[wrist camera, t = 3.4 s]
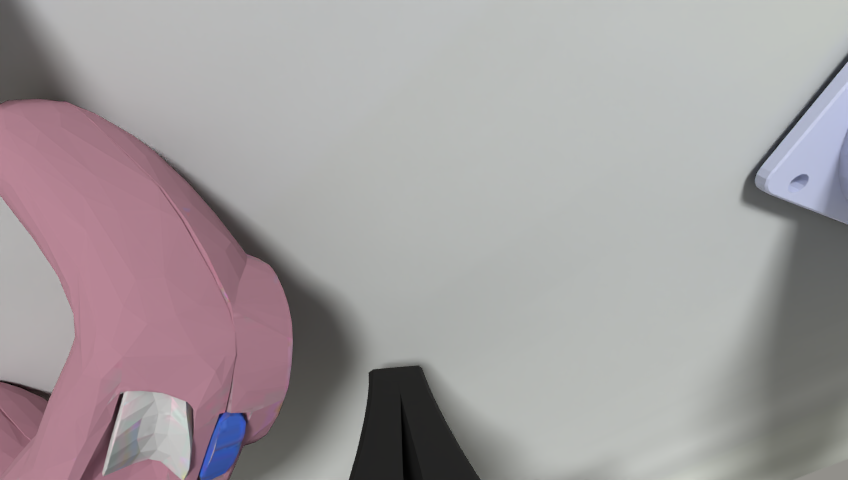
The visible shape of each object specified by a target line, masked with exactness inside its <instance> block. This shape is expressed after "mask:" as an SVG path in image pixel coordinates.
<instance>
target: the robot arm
mask: <svg viewBox="0 0 848 480" xmlns="http://www.w3.org/2000/svg"><path fill="white" fill-rule="evenodd" d="M755 184H756V187H758V188H759V189H760V190H762V191H764V192H766V193H768V194H769V195H772V196H775V197H777V198H780V199H782V200H785V201H788V202H790V203H793V204H795V205H798V206H801V207H803V208H806V209H808V210H811V211H814V212H816V213H819V214H821V215H824V216H827V217H829V218H832V219H834V220H837V221H840V222H842V223H845V224H847V225H848V62H847V63H846V64H845V66H844V67H843V68H842V69H841V70H840V72H839V73H838V74H837V75H836V76H835V78H834V79H833V80H832V81H831V82H830V84H829V85H828V86H827V87H826V89H825V90H824V91H823V92H822V93H821V95H820V96H819V97H818V98H817V99H816V101H815V102H814V103H813V104H812V106H811V107H810V108H809V109H808V110H807V112H806V113H805V114H804V115H803V116H802V118H801V119H800V120H799V121H798V122H797V124H796V125H795V126H794V127H793V129H792V130H791V131H790V132H789V133H788V135H787V136H786V137H785V138H784V139H783V141H782V142H781V143H780V144H779V146H778V147H777V148H776V149H775V150H774V152H773V153H772V154H771V155H770V156H769V158H768V159H767V160H766V161H765V162H764V164H763V165H762V166H761V167H760V169H759V171H758V172H757V174H756V178H755ZM349 480H480V478H479V477H478V475H477V474H476V472H475V471H474V469H473V467H472V466H471V464H470V463H469V461H468V459H467V458H466V456H465V455H464V453H463V451H462V449H461V448H460V446H459V444H458V443H457V441H456V439H455V437H454V435H453V434H452V432H451V430H450V428H449V426H448V425H447V423H446V421H445V419H444V417H443V415H442V413H441V411H440V409H439V407H438V405H437V403H436V401H435V399H434V397H433V395H432V392H431V390H430V388H429V385H428V383H427V381H426V378H425V375H424V373H423V370H422V368H421V367H419V366H409V367H397V368H385V369H373V370H372V371H370V372H369V389H368V399H367V406H366V412H365V418H364V423H363V427H362V432H361V436H360V441H359V445H358V449H357V453H356V457H355V461H354V464H353V467H352V471H351V474H350V478H349Z"/></svg>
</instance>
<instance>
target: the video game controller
mask: <svg viewBox="0 0 848 480" xmlns="http://www.w3.org/2000/svg"><path fill="white" fill-rule="evenodd" d="M0 196H1V197H2V198H3V200H4V201H5V202H6V204H7V205H8V206H9V208H10V209H11V210H12V211H13V213H14V214H15V215H16V217H17V218H18V219H19V221H20V222H21V223H22V224H23V226H24V227H25V228H26V230H27V231H28V232H29V234H30V235H31V236H32V237H33V239H34V240H35V242H36V243H37V245H38V246H39V248H40V249H41V251H42V252H43V254H44V255H45V257H46V258H47V260H48V261H49V263H50V264H51V266H52V267H53V269H54V270H55V272H56V274H57V275H58V277H59V279H60V282H61V284H62V287H63V289H64V292H65V294H66V296H67V299H68V301H69V304H70V306H71V309H72V311H73V314H74V326H75V339H74V342H73V345H72V348H71V351H70V354H69V356H68V358H67V361H66V363H65V365H64V367H63V369H62V372H61V374H60V376H59V378H58V381H57V383H56V385H55V387H54V389H53V392H52V394H51V396H50V398H49V401H46V400H45V399H44V398H42V397H40V396H38V395H35V394H33V393H31V392H29V391H26V390H24V389H22V388H19V387H16V386H13V385H10V384H7V383H3V382H0V480H229V479H230V476H231V474H232V472H233V469H234V467H235V465H236V462H237V460H238V458H239V455H240V453H241V451H242V448H243V446H245V445H248V444H251V443H254V442H256V441H258V440H259V439H261V438H262V437H263V436H265V435H266V434H267V433H268V431H269V430H270V428H271V426H272V425H273V423H274V421H275V420H276V418H277V416H278V415H279V413H280V410H281V407H282V404H283V401H284V398H285V395H286V392H287V389H288V386H289V379H290V372H291V364H292V353H293V335H292V320H291V316H290V311H289V306H288V302H287V299H286V296H285V293H284V290H283V288H282V286H281V283H280V281H279V279H278V277H277V275H276V273H275V272H274V270H273V269H272V267H271V266H270V265H269V264H267V263H265V262H264V261H262V260H260V259H259V258H256V257H254V256H251V255H248V254H246V253H245V252H244V250H243V249H242V248H241V246H240V245H239V244H238V242H237V241H236V240H235V238H234V237H233V236H232V234H231V233H230V232H229V231H228V229H227V228H226V227H225V225H224V224H223V223H222V222H221V220H220V219H219V218H218V216H217V215H216V214H215V213H214V212H213V210H212V209H211V208H210V207H209V206H208V205H207V204H206V202H205V201H204V200H203V199H202V198H201V197H200V196H199V195H198V193H197V192H196V191H195V190H194V189H193V188H192V187H191V185H190V184H189V183H188V182H187V181H186V180H185V179H184V178H182V177H181V176H180V175H179V174H178V173H177V172H176V171H175V170H174V169H173V168H172V167H171V166H170V165H169V164H168V163H167V162H165V161H164V160H163V159H162V158H161V157H160V156H159V155H158V154H157V153H156V152H155V151H153V150H152V149H151V148H149V147H148V146H147V145H145V144H144V143H143V142H141V141H140V140H138V139H137V138H136V137H134V136H133V135H131V134H129V133H128V132H126V131H124V130H123V129H121V128H119V127H117V126H116V125H114V124H112V123H111V122H109V121H107V120H105V119H104V118H102V117H100V116H98V115H97V114H95V113H93V112H90V111H88V110H85V109H83V108H80V107H78V106H75V105H73V104H70V103H68V102H65V101H63V102H61V101H52V100H44V99H25V100H7V101H5V102H3V103H1V104H0Z"/></svg>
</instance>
